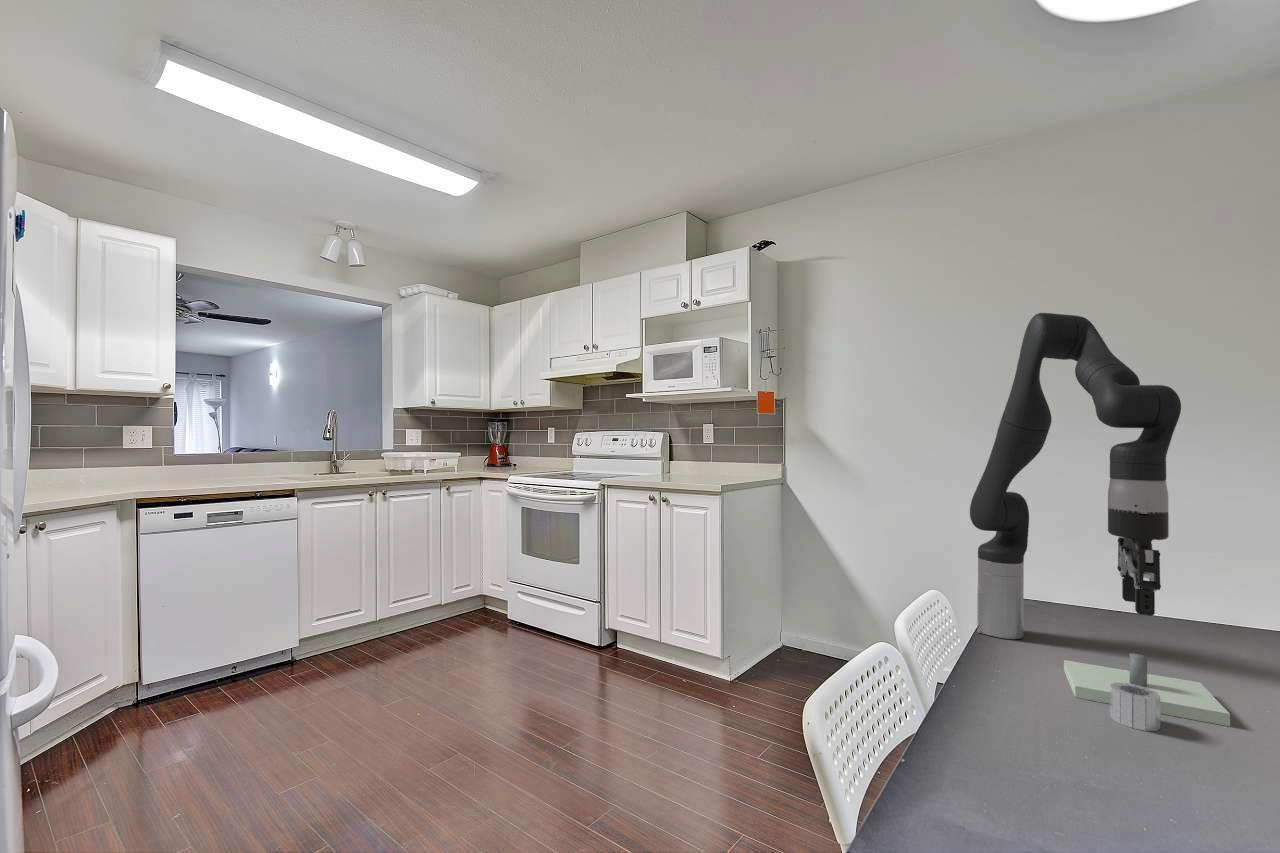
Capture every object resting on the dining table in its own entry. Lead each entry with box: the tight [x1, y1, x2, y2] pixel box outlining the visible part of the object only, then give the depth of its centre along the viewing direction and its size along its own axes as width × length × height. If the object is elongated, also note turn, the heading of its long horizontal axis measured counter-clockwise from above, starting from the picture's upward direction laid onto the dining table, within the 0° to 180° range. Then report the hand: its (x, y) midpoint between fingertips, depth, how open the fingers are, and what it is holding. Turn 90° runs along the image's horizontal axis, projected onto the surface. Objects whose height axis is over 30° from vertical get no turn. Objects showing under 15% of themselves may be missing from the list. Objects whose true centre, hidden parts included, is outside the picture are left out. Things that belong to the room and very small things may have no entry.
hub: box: [1109, 683, 1161, 732], centre depth 94 cm, size 6×6×5 cm
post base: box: [1063, 653, 1231, 727], centre depth 104 cm, size 20×14×7 cm
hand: (1137, 607), depth 95 cm, fingers open, 8 cm apart
